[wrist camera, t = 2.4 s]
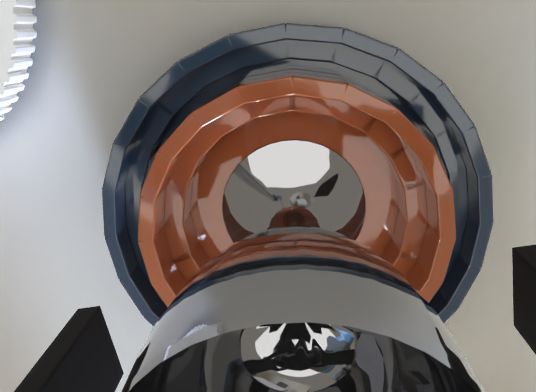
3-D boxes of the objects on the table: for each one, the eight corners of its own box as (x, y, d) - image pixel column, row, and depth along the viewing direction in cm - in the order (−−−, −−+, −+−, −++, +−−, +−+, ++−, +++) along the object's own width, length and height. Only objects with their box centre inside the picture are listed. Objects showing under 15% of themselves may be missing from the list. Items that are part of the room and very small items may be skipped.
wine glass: (286, 95, 21) (281, 228, 7) (408, 203, 23) (606, 491, 9) (182, 216, 23) (20, 500, 9) (299, 307, 25) (314, 670, 11)
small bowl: (129, 98, 22) (97, 113, 18) (416, 43, 21) (445, 46, 17) (196, 333, 26) (181, 384, 23) (437, 300, 25) (463, 348, 21)
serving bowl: (79, 65, 22) (47, 71, 19) (458, -12, 20) (486, -18, 17) (173, 364, 27) (159, 403, 24) (474, 325, 25) (497, 362, 23)
